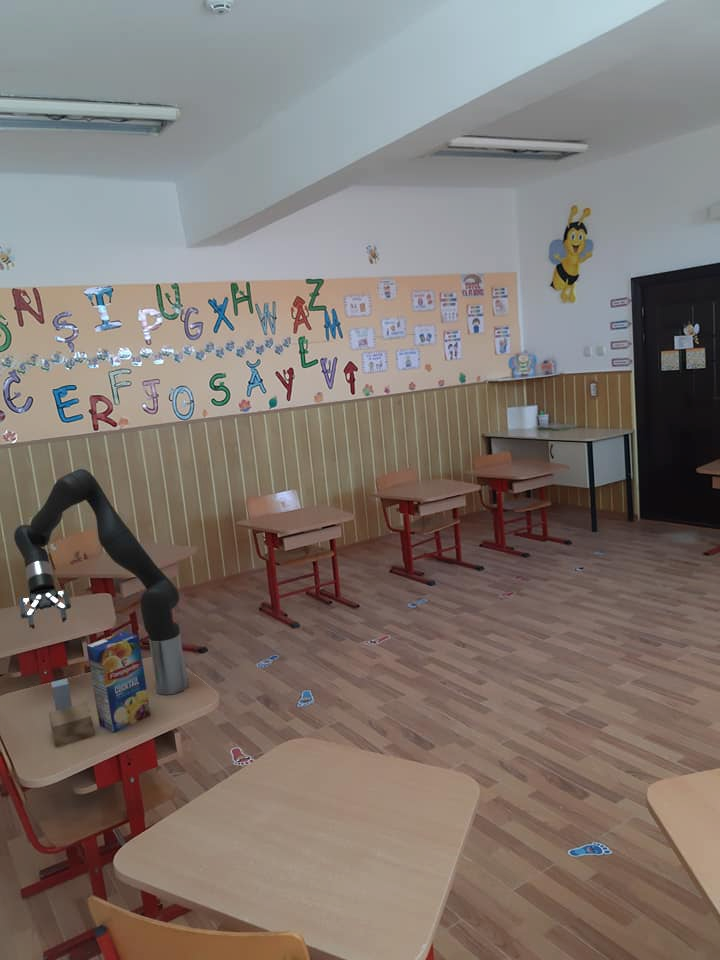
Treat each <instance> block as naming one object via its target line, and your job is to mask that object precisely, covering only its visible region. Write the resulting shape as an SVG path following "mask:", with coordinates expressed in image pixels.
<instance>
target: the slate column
mask: <svg viewBox="0 0 720 960" xmlns="http://www.w3.org/2000/svg"><path fill="white" fill-rule="evenodd" d="M50 683H51V688H52V689H51V690H52V695H53V701H54V706H55V711H57V710H61V709H64V708H68V707H71V706H73V703H72V698H71V691H70V685H69V679H68V678H63V679H59V680H55V681H51V682H50Z"/></svg>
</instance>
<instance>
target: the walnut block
mask: <svg viewBox="0 0 720 960" xmlns="http://www.w3.org/2000/svg"><path fill="white" fill-rule="evenodd" d="M48 716H49V721H50V722H49V723H50V728H51V733H52V738H53V742H54V747H55V748H56V747H60V746H63V745H67V744H72V743H74V742H77V741H81V740H83V739H88V738H90V737H93V736H95V731H94V725H93V719H92V714H91V712H90V709H89V707H88V704H87V702H84V703H83V702H82V703H79V704H76V705H72V706H71V707H68V708H64V709H61V710H57V711H56V710H54V711H51V712H48Z"/></svg>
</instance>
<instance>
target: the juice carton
mask: <svg viewBox="0 0 720 960" xmlns="http://www.w3.org/2000/svg"><path fill="white" fill-rule="evenodd" d="M141 649H142V648H141V642H140V636H139V635H137V634H134V633H131V632H128V631H121V632H119V633H118V632H117V634H116V633H115V634H113V635H111V636H108V637H105V638H103V639H100V640H98V641H95V642H93V643H89V644H88V645H86V650H87V655H88V657H87V658H88V663H89V667H90V668H89V669H90V674H91V680H92V688H93V694H94V699H95V700H94V701H95V705H96V711H97V718H98V724H99V727H101V728H103V729H105V730H107V731H109V732H112V733H113V734H115V733H117V732H119V731H122V730H123V729H125V728H127V727H129V726H131V725H133V724H135V723H137V722H140V721H141V720H143V719H146V718H147V717H149V716H151V709H150V703H149V696H148V690H147V688H148V687H147V682H146V676H145V669H144V662H143V656H142V650H141Z"/></svg>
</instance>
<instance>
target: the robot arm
mask: <svg viewBox="0 0 720 960" xmlns="http://www.w3.org/2000/svg"><path fill="white" fill-rule="evenodd" d="M84 501H86V502H87V504H88V505H89V506H90V508H91V509H92V512H93V513H94V515H95V519H96V526H97V527H96V529H97V536H98V540H99V543H100V545H101V548H103V549H104V550H105V552H106V553H107V555H108V556H109V557H110V559H111V560H112V561H113V562H114V563H116V564H117V565H118V566H120V567H121V568H123V569H125V570H127V572H129V573H131V574H133V575H134V576H135V577H136V578H137V579H138V580H139V581H140V582H141V584H142V585H143V586H144V587H145V589H146V590H144V592H143V593H142V595H141V596H140V603H139V604H140V605H139V606H140V611H141V617H142V621H143V626H144V630H145V631H146V633H147V635H148V636H147V637H148V641H149V647H150V654H151V656H150V657H151V661H152V668H153V675H154V682H155V689H156V693H157V694H159V695H165V696H167V695H174V694H178V693H180V692H182V691H184V690H186V689H189V688H190V686H189V685H190V684H189V679H188V672H187V671H188V670H187V665H186V658H185V657H184V653H183V644H182V639H181V632H180V631H181V630H180V625H179V624H178V623H177V622H174V621H173V618H172V614H171V610H174V608H175V607H177V605H178V603H179V600H180V595H179V592H178V589H177V588H176V586H175V584H174V583H173V582H172V580H170V578H169V577H167V576H166V574H164V572H163V571H162V570H161V569H160V568H159V567H158V566H157V564H156V563H155V562H154V560H153V559H152V558H151V557H150V555H149V554H148V553H147V552H146V550H145V549H144V547H142V545H141V543H140V542H139V541H138V539H137V538H136V536H135V535H134V534H133V532H132V531H131V530H130V528H129V526H127V525H126V524H125V522H124V521H123V519H122V518H121V516H120V515H119V513H118V512H117V510H115V508H114V507H113V505H112V504H111V502H110V501H109V499H108V497H107V495H106V493H105V492H104V490H103V489H102V487H101V486H100V483H99V482H98V480H97V479H96V478H95V476H94V475H93V474H92V473H91V472H90V471H88V470H86V469H84V468H80V469H79V468H78V469H77V470H74V471H72V472H70V473H67V474H64V475H63V476H61V477H59V478H58V479H57V480H56V482H55V483H54V485H53V487H52V489H51V491H50V493H49V495H48V497H47V499H46V501H45V502H44V504H43V506H42V507H41V508H40V509H39V511H38V512H37V513H36V514H35V515H34V517H33V518H32V519H31V521H30V524H21V525H19V526H17V527H16V529H15V531H14V535H13V538H14V542H15V545H16V547H17V548H18V550H19V552H20V554H21V556H22V558H23V560H24V564H25V570H26V571H25V575H26V576H25V577H26V582H27V587H28V594H29V596H28V597H27V598H24V597H19V598H18V603H19V613H20V618H21V619H27V622H28V626H29V628H32V630H34V629H35V621H34V616H35V614H36V613H37V612H38V610H44V609H50V608H52V607H53V608H55V609H56V610H59V611H60V615H61V617H60V618H61V622H62V623H65V622H66V621H67V618H68V617H67V611H66V610H68V609H71V607H72V605H71V600H70V596H69V592H68V589H67V588H63V589H62V590H61V591H57V589H56V585H55V580H54V574H53V569H52V567H51V563H50V559H49V553H48V552H47V550H46V548H45V549H44V547H46V546H47V545H48V544H49V543H50V540H51V535H52V533H53V531H54V529H56V527H57V526H58V525H59V524H60V522H61V521H62V518H63V513H64V512H65V511H66V510H68V509H69V508H71V507H72V506H74V505H79V504H80V503H82V502H84ZM59 597H61V598H62V599H64V602H65V603H62V602H61V601H60V600H59V599H58V598H59ZM28 603H29V604H31V606H30V608H28V609H29V610H28V611H26V608H25V607H26V606H27V605H28Z"/></svg>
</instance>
